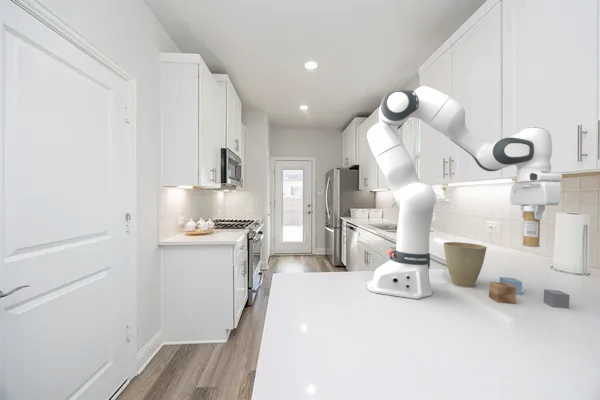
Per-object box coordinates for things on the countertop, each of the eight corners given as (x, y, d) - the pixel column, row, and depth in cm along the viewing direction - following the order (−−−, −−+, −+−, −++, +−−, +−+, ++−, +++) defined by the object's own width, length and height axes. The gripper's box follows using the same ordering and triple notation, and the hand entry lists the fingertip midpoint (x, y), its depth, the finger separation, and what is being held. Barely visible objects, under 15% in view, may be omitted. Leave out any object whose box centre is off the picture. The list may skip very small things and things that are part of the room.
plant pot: (437, 278, 122) (438, 241, 122) (474, 280, 120) (476, 243, 120) (449, 288, 107) (451, 246, 107) (492, 292, 105) (494, 249, 105)
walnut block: (497, 302, 93) (497, 286, 93) (489, 297, 99) (489, 281, 99) (515, 304, 92) (516, 287, 92) (506, 298, 98) (507, 283, 98)
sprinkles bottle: (542, 246, 94) (543, 206, 94) (536, 247, 91) (538, 206, 91) (525, 244, 98) (526, 205, 97) (519, 245, 95) (521, 205, 95)
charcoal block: (552, 307, 91) (553, 293, 91) (543, 302, 96) (544, 289, 96) (569, 308, 90) (569, 294, 90) (558, 303, 95) (559, 290, 95)
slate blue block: (506, 294, 103) (506, 280, 103) (499, 290, 108) (499, 277, 108) (521, 295, 102) (522, 281, 102) (513, 291, 107) (514, 278, 107)
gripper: (505, 179, 105) (504, 216, 105) (542, 174, 85) (540, 220, 85) (524, 180, 104) (523, 217, 104) (567, 174, 84) (565, 221, 84)
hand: (531, 218), depth 94 cm, fingers closed on sprinkles bottle, 4 cm apart
